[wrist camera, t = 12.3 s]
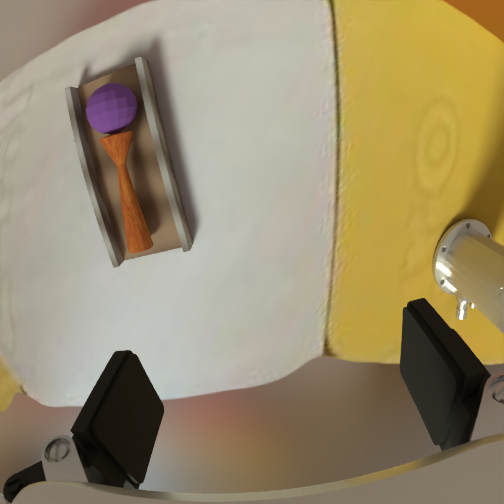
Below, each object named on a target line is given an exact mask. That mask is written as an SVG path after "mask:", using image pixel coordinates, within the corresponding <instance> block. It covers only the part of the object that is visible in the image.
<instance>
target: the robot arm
mask: <svg viewBox="0 0 504 504" xmlns="http://www.w3.org/2000/svg"><path fill="white" fill-rule="evenodd" d="M433 275H434V279H435V281H436V283H437V285H438V286H439V287H440V288H441V289H442V290H443V291H444V292H446V293H448V294H451V295H456V296H457V298H456V300H457V302H458V306H457V310H456V317H457V318H458V319H465V318H466V314H467V304H468V303H469V302H470V305H469V306H470V307H471V308H475V307H476V308H477V309H478V310H479V311H480V312H481V313H482V314H484V315H485V316H486V317H487V318H488V319H489V320H490V321H491V322H492V323H493V324H494V325H495V326H496V327H497V328H498V329H499V330H500V331H501V332H502V333H503V334H504V246H503V245H501V244H499V243H498V242H496V241H494V240H492V236H491V233H490V231H489V229H488V227H487V226H486V225H485V224H483V223H482V222H480V221H478V220H476V219H470V218H469V219H463V220H461V221H458V222H457V223H455V224H454V225H452V226H451V227H450V228H449V229H448V230H447V231H446V232H445V234H444V235H443V236H442V238H441V240H440V242H439V243H438V246H437V248H436V251H435V254H434V258H433ZM400 372H401V375H402V378H403V379H404V381H405V384H406V385H407V388H408V390H409V392H410V393H411V396H412V398H413V400H414V402H415V404H416V406H417V408H418V410H419V413H420V414H421V417H422V419H423V421H424V423H425V425H426V428H427V430H428V432H429V434H430V437H431V439H432V441H433V443H434V444H435V445H440V447H441V450H442V452H439V453H437V454H434V455H431V456H428V457H425V458H422V459H419V460H416V461H414V462H410V463H407V464H404V465H400V466H397V467H393V468H390V469H387V470H383V471H379V472H376V473H372V474H368V475H364V476H360V477H356V478H351V479H347V480H342V481H337V482H332V483H326V484H320V485H314V486H308V487H301V488H294V489H286V490H278V491H266V492H253V493H234V494H233V493H232V494H190V493H170V492H156V491H146V490H138V488H139V485H140V484H141V483H143V481H144V479H145V475H146V472H147V468H148V465H149V461H150V458H151V454H152V451H153V447H154V444H155V440H156V437H157V434H158V431H159V427H160V424H161V421H162V417H163V414H164V406H163V403H162V402H161V400H160V398H159V396H158V394H157V393H156V391H155V389H154V387H153V385H152V383H151V382H150V380H149V378H148V376H147V374H146V372H145V370H144V368H143V366H142V364H141V362H140V360H139V358H138V356H137V355H136V354H133V353H132V352H131V351H130V350H125V351H116V352H114V354H113V355H112V357H111V359H110V360H109V362H108V364H107V365H106V367H105V369H104V371H103V372H102V374H101V376H100V378H99V379H98V381H97V383H96V385H95V386H94V388H93V390H92V392H91V394H90V395H89V397H88V399H87V401H86V403H85V404H84V406H83V408H82V410H81V412H80V414H79V416H78V417H77V419H76V421H75V423H74V425H73V427H72V429H71V432H72V433H73V434H74V435H73V437H72V438H71V437H69V436H67V435H58V436H55V437H53V438H51V439H49V440H48V441H47V442H46V443H45V445H44V446H43V448H42V451H41V459H42V461H40V462H38V463H36V464H34V465H32V466H30V467H28V468H26V469H24V470H22V471H20V472H18V473H16V474H14V475H12V476H11V477H10V478H9V479H8V480H7V481H6V483H5V485H4V489H3V493H4V495H2V494H1V493H0V504H504V372H498V373H495V374H494V375H492V376H491V375H490V374H489V372H488V371H487V370H486V368H485V367H484V366H483V364H482V363H481V362H480V361H479V359H478V358H477V357H476V355H475V354H474V353H473V352H472V350H471V349H470V348H469V347H468V345H467V344H466V343H465V342H464V341H463V339H462V338H461V337H460V336H459V334H458V333H457V332H456V331H455V330H454V329H451V328H450V327H449V326H448V325H447V323H446V322H445V321H444V320H443V319H442V318H441V316H440V315H439V314H438V313H437V312H436V311H435V309H434V308H433V307H432V306H431V305H430V304H429V302H428V301H427V300H426V299H425V298H421V299H417V300H413V301H410V302H408V304H407V307H404V308H403V323H402V343H401V357H400Z"/></svg>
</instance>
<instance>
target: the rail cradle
mask: <svg viewBox="0 0 504 504" xmlns="http://www.w3.org/2000/svg"><path fill="white" fill-rule="evenodd" d="M135 63H136V64H133V65H130V66H128V67H125V68H123V69H120V70H118V71H115V72H113V73H110V74H108V75H105V76H103V77H101V78H98V79H96V80H94V81H92V82H89V83H87V84H85V85H83V86H81V87H79V88H74V87H68V88H66V89H65V94H66V99H67V105H68V110H69V115H70V120H71V125H72V129H73V134H74V138H75V143H76V147H77V151H78V155H79V159H80V163H81V167H82V171H83V174H84V178H85V182H86V185H87V189H88V192H89V196H90V199H91V202H92V205H93V209H94V212H95V215H96V218H97V221H98V224H99V227H100V230H101V233H102V236H103V239H104V242H105V245H106V248H107V251H108V253H109V256H110V259H111V261H112V264H113V267H119V266H120V265H121V263H122V262H123V261H124V260H128V259H132V258H137V257H141V256H145V255H150V254H154V253H159V252H163V251H167V250H172V249H176V248H181V247H182V248H183V252H186V251H190V249H191V247H192V245H193V240H192V237H191V233H190V229H189V226H188V222H187V218H186V215H185V211H184V208H183V204H182V200H181V197H180V193H179V189H178V185H177V182H176V178H175V174H174V170H173V166H172V162H171V159H170V155H169V151H168V147H167V143H166V138H165V134H164V130H163V126H162V122H161V118H160V113H159V109H158V105H157V100H156V96H155V91H154V87H153V82H152V77H151V73H150V68H149V63H148V61H147V60H146V59H144V58H143V57H138V58H135ZM108 83H119V84H123V85H125V86H126V87H128V88H130V89H131V90H132V92H133V93H134V95H135V97H136V101H137V111H136V115H135V118H134V119H133V121H132V122H131V123H130V125H129V126H128V127H127V128H125V129H124V130H122V131H121V132H126V131H133V135H132V139H131V143H130V148H129V152H128V156H127V161H126V166H127V169H128V172H129V175H130V178H131V181H132V184H133V187H134V190H135V193H136V196H137V199H138V202H139V205H140V208H141V211H142V214H143V216H144V219H145V222H146V225H147V227H148V230H149V233H150V236H151V238H152V241H153V244H154V245H153V247H151V248H150V249H148V250H146V251H142V252H139V253H130V252H128V247H127V241H126V235H125V228H124V222H123V214H122V207H121V199H120V191H119V182H118V172H117V165H116V164H115V163H114V161H113V160H112V158H111V157H110V156H109V154H108V153H107V151H106V150H105V149H104V147H103V146H102V144H101V143H100V142H99V139H102V138H104V137H106V136H108V135H110V134H103V133H100V132H98V131H97V130H95V129H94V128H93V127H92V126H91V124H90V123H89V121H88V120H87V114H86V107H87V103H88V99H89V98H90V97H91V95H92V94H93V92H94V91H95V90H96V89H98V88H100V87H101V86H103V85H105V84H108Z"/></svg>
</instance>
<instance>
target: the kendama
mask: <svg viewBox="0 0 504 504" xmlns="http://www.w3.org/2000/svg"><path fill="white" fill-rule="evenodd" d="M136 111H137V101H136V97H135V95H134V93H133V92H132V90H131V89H130V88H128V87H126V86H125V85H123V84H119V83H108V84H105V85H103V86H101V87H100V88H98V89H96V90H95V91H94V92H93V94H92V95H91V97H90V98H89V99H88V103H87V107H86V114H87V120H88V121H89V123H90V124H91V126H92V127H93V128H94V129H95V130H97V131H98V132H100V133H103V134H110V135H108V136H106V137H104V138H102V139H99V142H100V143H101V144H102V146H103V147H104V149H105V150H106V151H107V153H108V154H109V156H110V157H111V158H112V160H113V161H114V163H115V164H116V165H117V172H118V182H119V191H120V199H121V207H122V214H123V222H124V228H125V235H126V241H127V247H128V252H130V253H139V252H142V251H146V250H148V249H150V248H151V247H153V245H154V244H153V241H152V238H151V236H150V233H149V230H148V227H147V225H146V222H145V219H144V216H143V214H142V211H141V208H140V205H139V202H138V199H137V196H136V193H135V190H134V187H133V184H132V181H131V178H130V175H129V172H128V169H127V166H126V161H127V156H128V152H129V148H130V143H131V139H132V135H133V131H126V132H121V131H122V130H124V129H125V128H127V127H128V126H129V125H130V123H131V122H132V121H133V119H134V118H135V115H136Z"/></svg>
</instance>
